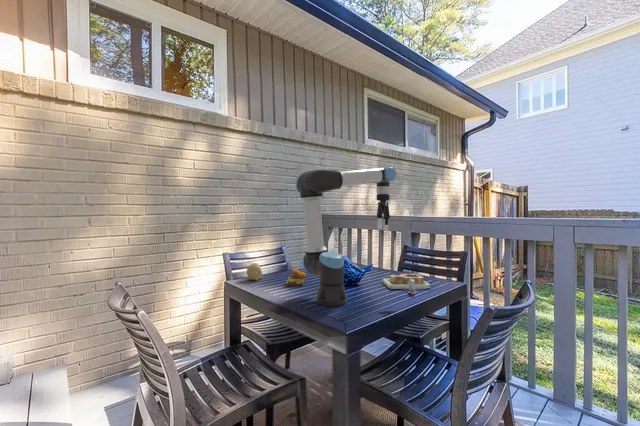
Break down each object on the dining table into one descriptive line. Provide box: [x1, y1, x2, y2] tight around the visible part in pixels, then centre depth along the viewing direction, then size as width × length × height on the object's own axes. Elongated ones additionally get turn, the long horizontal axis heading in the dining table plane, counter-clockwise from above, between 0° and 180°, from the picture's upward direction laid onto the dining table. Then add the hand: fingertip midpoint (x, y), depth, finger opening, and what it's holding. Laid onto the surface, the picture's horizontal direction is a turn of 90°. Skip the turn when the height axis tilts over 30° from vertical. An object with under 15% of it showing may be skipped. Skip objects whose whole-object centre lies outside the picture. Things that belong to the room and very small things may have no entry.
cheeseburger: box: [286, 268, 307, 287], centre depth 194 cm, size 10×11×10 cm
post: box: [406, 279, 418, 295], centre depth 175 cm, size 5×5×7 cm
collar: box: [389, 273, 425, 285], centre depth 191 cm, size 18×11×5 cm, turn 94°
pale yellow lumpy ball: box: [246, 262, 264, 281], centre depth 205 cm, size 10×12×11 cm
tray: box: [382, 277, 432, 290], centre depth 191 cm, size 23×17×2 cm
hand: (382, 229), depth 192 cm, fingers open, 13 cm apart
